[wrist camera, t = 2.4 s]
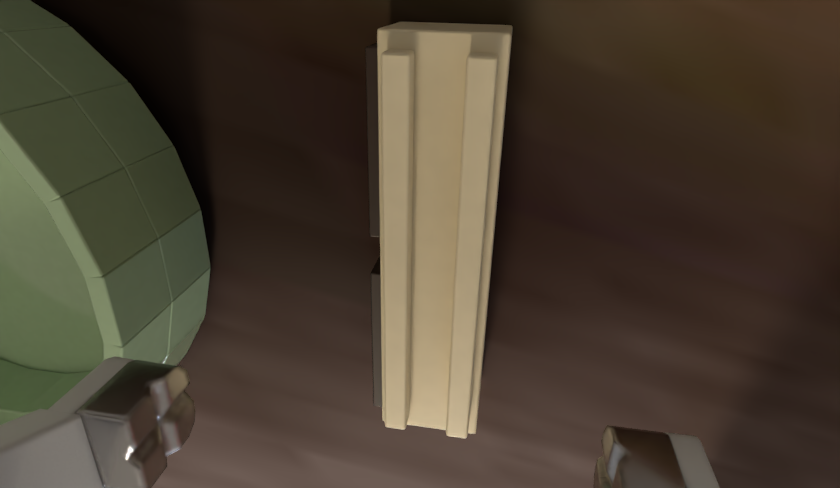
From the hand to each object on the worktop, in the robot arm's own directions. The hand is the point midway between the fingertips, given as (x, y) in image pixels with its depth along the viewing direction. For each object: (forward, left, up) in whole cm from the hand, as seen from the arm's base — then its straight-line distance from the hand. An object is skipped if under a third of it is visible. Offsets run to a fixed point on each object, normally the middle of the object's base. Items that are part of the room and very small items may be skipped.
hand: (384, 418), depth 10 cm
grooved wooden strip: (0, 0, -9) cm, 9 cm away
